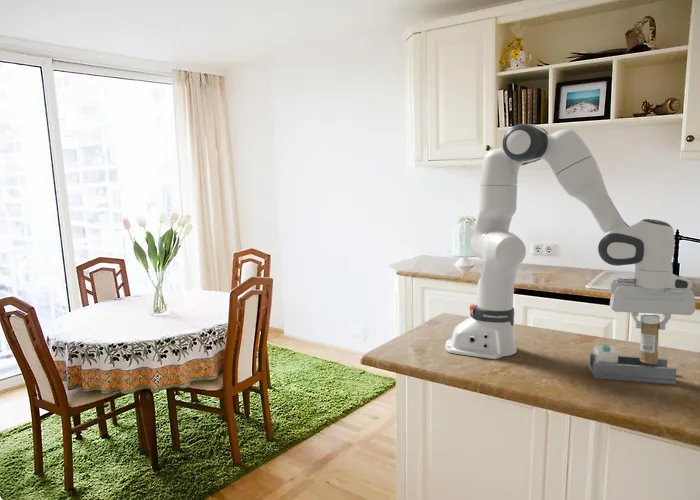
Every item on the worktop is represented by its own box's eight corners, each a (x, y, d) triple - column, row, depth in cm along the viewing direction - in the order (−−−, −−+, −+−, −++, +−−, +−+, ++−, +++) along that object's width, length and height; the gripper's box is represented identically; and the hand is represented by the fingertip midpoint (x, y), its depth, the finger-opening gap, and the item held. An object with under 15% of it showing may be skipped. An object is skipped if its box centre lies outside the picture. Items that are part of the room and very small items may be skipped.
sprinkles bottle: (661, 362, 144) (663, 315, 143) (652, 366, 142) (653, 318, 140) (645, 357, 148) (646, 312, 146) (635, 361, 146) (637, 314, 144)
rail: (594, 378, 145) (596, 351, 143) (588, 365, 154) (589, 339, 153) (676, 384, 139) (678, 356, 138) (664, 371, 149) (666, 344, 148)
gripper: (613, 280, 141) (610, 329, 143) (699, 283, 136) (695, 334, 138) (608, 275, 147) (606, 323, 149) (690, 278, 142) (686, 327, 144)
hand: (649, 328), depth 144 cm, fingers closed on sprinkles bottle, 4 cm apart
